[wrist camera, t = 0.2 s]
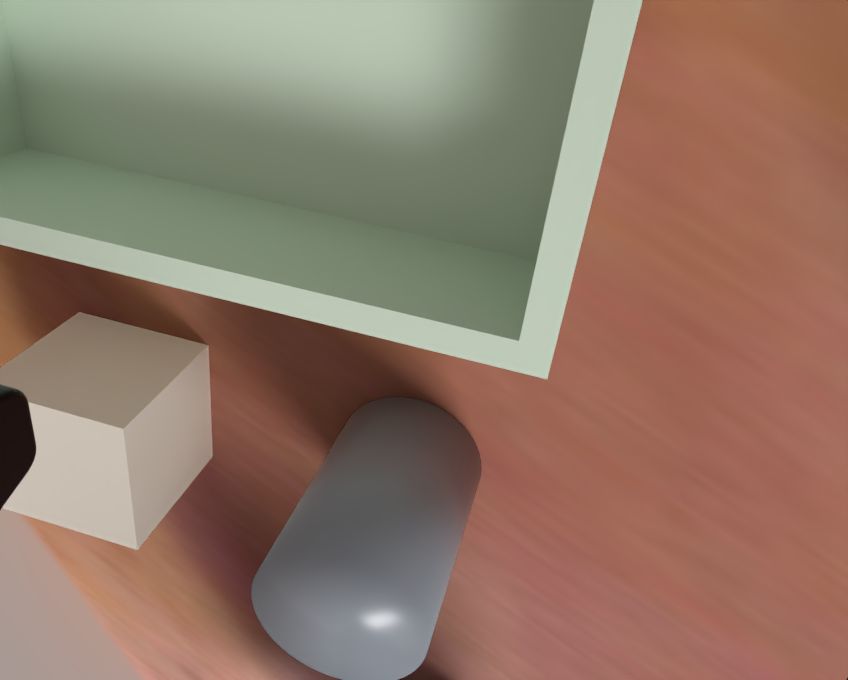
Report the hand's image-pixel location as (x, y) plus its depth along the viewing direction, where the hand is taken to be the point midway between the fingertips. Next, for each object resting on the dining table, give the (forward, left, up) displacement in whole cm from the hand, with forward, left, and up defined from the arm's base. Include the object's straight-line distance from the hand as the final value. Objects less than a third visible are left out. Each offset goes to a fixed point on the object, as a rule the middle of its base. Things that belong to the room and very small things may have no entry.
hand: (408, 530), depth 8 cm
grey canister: (-11, +3, -14) cm, 18 cm away
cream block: (-11, +13, -14) cm, 22 cm away
